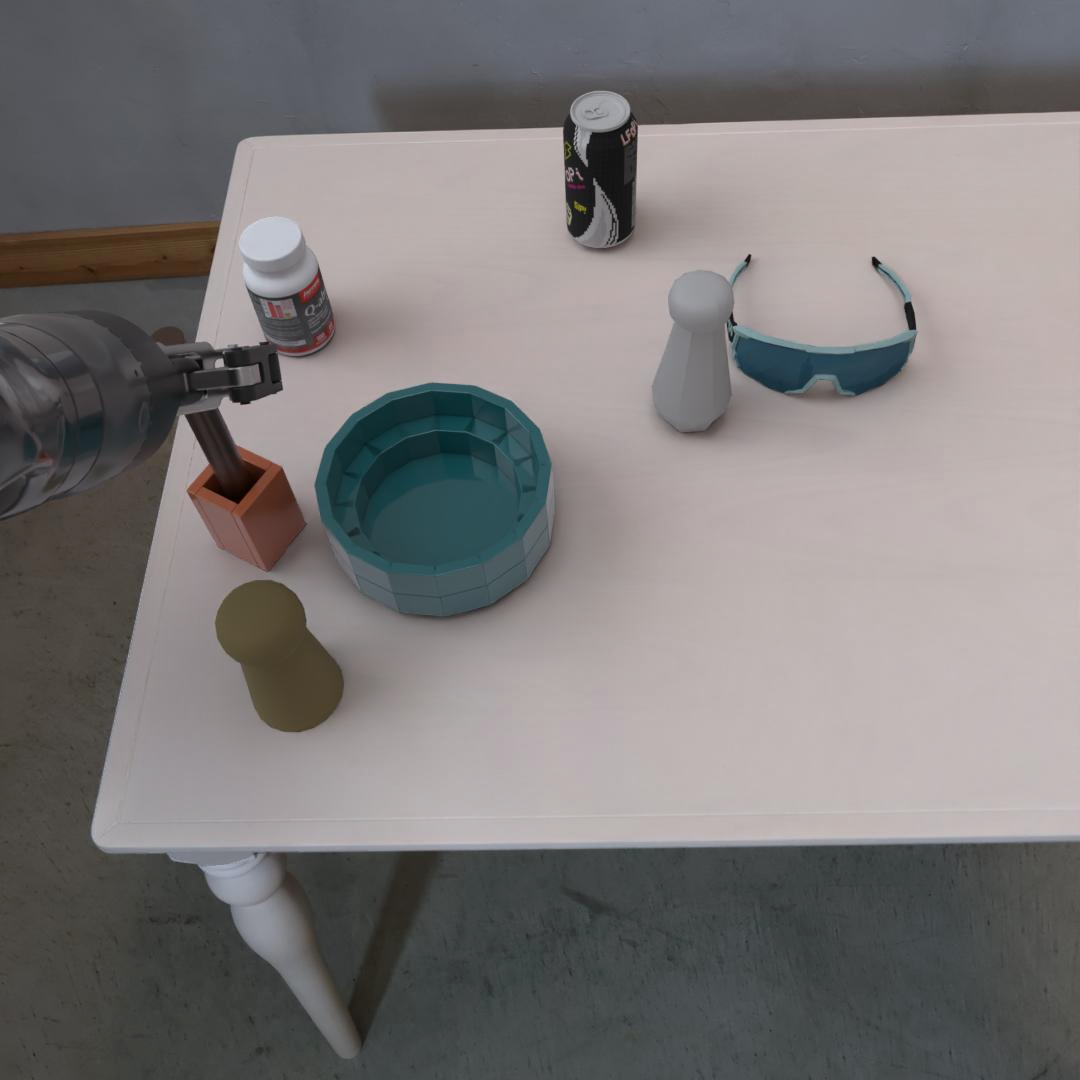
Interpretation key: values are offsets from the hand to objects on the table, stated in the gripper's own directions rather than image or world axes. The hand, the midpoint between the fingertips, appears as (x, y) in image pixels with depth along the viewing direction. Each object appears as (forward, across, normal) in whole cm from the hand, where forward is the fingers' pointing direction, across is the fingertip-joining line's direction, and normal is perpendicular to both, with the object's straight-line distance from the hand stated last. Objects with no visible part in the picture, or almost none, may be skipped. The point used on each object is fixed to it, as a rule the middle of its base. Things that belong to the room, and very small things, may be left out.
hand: (171, 373), depth 63 cm
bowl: (+14, -13, +13) cm, 23 cm away
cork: (+6, -3, +22) cm, 22 cm away
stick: (+14, 0, +12) cm, 19 cm away
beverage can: (+34, -28, -6) cm, 44 cm away
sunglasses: (+25, -43, +3) cm, 49 cm away
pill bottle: (+28, -2, -1) cm, 28 cm away
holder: (+14, 0, +13) cm, 19 cm away
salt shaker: (+20, -32, +8) cm, 38 cm away
